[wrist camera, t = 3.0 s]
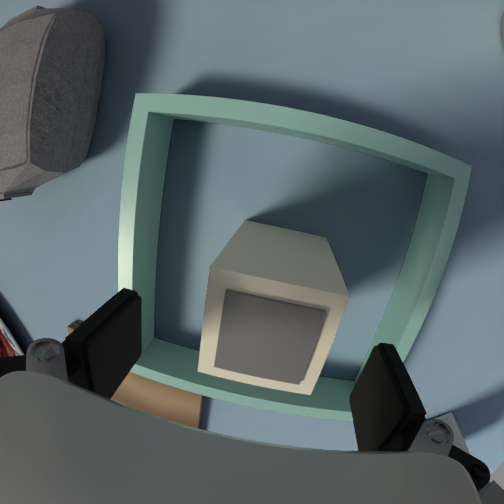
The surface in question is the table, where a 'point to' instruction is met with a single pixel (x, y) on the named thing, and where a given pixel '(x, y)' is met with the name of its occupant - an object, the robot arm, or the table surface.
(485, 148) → the table surface
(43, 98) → the small grey backpack
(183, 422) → the walnut board
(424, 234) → the bin
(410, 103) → the table surface
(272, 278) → the block
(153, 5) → the table surface
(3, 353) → the ceramic plate
